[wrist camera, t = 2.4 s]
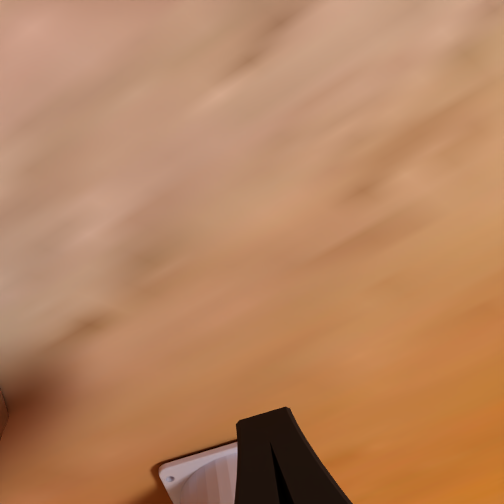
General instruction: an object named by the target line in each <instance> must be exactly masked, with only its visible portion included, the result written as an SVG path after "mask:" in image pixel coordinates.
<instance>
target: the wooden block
mask: <svg viewBox="0 0 504 504" xmlns="http://www.w3.org/2000/svg"><path fill="white" fill-rule="evenodd" d="M8 417H9V415H8V411H7V408H6V405H5V402H4V398H3V395H2V392H1V389H0V439H1V437H2V434H3V431H4V428H5V426H6V423H7V420H8Z"/></svg>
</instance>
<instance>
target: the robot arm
mask: <svg viewBox="0 0 504 504" xmlns="http://www.w3.org/2000/svg"><path fill="white" fill-rule="evenodd" d="M236 429H237V442H235V443H231V444H228V445H225V446H221V447H218V448H215V449H211V450H208V451H205V452H201V453H198V454H195V455H191V456H188V457H185V458H181V459H178V460H175V461H171V462H168V463H165V464H163V465H161V466H160V467H159V477H160V479H161V481H162V483H163V485H164V487H165V489H166V490H167V492H168V494H169V496H170V498H171V500H172V502H173V504H353V503H352V502H351V501H350V500H349V499H348V497H347V496H346V495H345V493H344V492H343V491H342V490H341V488H340V487H339V486H338V484H337V483H336V481H335V480H334V479H333V477H332V476H331V475H330V473H329V472H328V471H327V469H326V468H325V466H324V465H323V464H322V462H321V461H320V459H319V458H318V456H317V455H316V454H315V452H314V450H313V449H312V447H311V446H310V444H309V443H308V441H307V440H306V438H305V436H304V434H303V433H302V431H301V429H300V428H299V426H298V424H297V422H296V420H295V418H294V416H293V414H292V412H291V409H290V408H287V407H283V408H279V409H276V410H273V411H269V412H266V413H262V414H259V415H256V416H252V417H249V418H246V419H242V420H239V421H238V423H237V424H236Z"/></svg>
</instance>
